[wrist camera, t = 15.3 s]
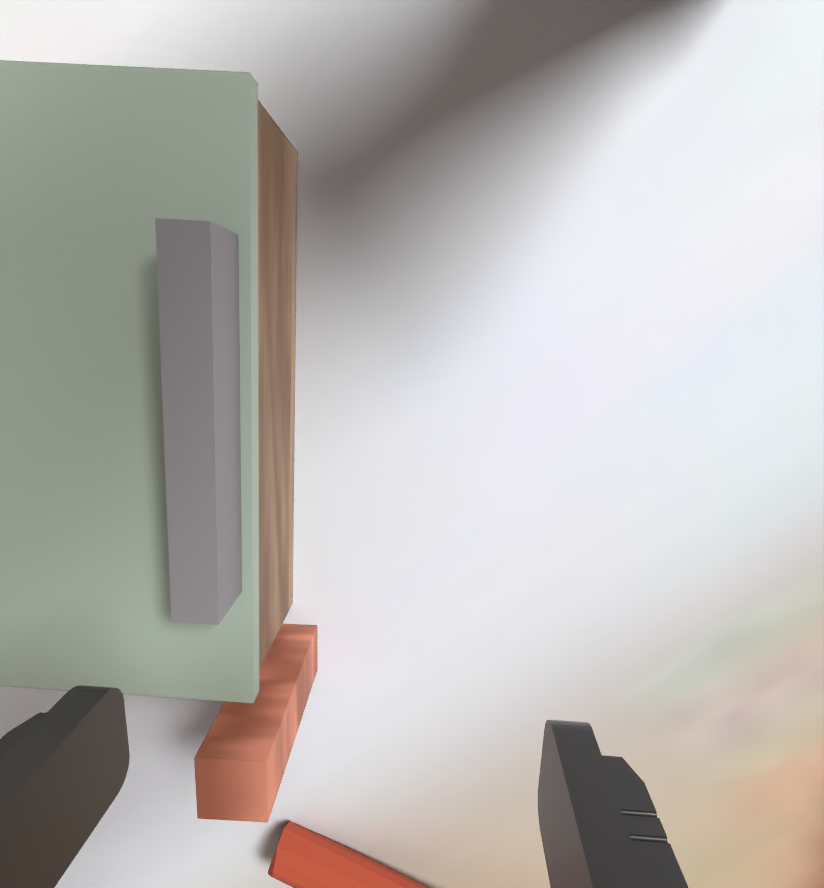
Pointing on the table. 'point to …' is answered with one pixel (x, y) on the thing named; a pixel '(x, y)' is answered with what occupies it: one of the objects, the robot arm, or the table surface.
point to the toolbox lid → (129, 380)
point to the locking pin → (257, 733)
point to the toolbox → (275, 373)
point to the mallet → (328, 864)
